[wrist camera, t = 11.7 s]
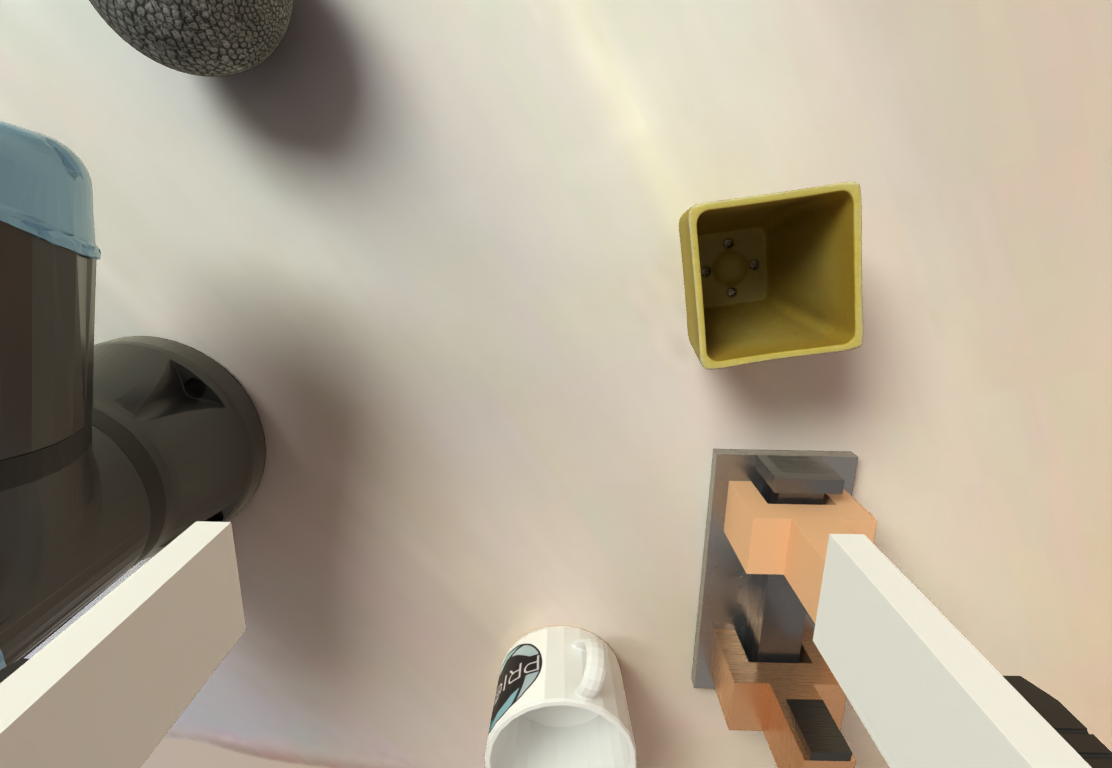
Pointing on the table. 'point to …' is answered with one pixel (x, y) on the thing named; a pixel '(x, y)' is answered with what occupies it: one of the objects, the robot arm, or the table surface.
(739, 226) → the flower pot
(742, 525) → the tan wooden arch block
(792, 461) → the rail base
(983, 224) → the table surface
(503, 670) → the mug
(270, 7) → the decorative ball
